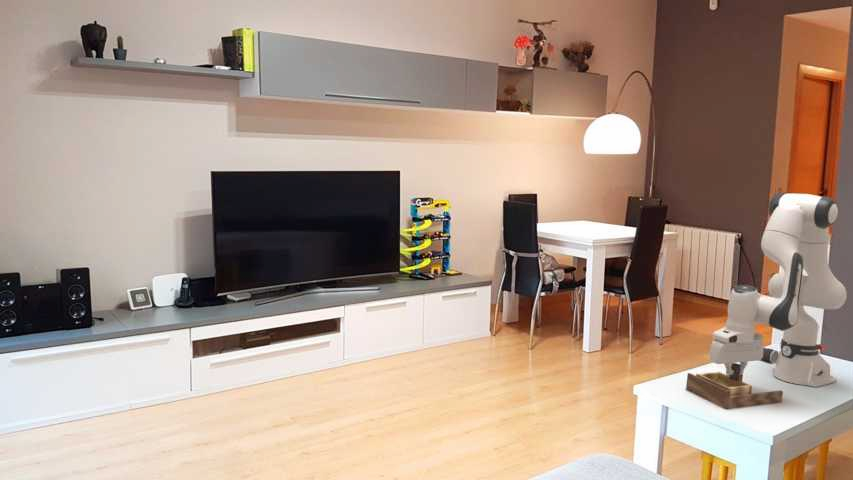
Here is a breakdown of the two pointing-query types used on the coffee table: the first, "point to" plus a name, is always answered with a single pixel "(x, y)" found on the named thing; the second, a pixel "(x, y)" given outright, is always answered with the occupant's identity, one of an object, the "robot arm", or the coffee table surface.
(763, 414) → the coffee table surface
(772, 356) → the flashlight
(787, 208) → the robot arm
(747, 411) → the coffee table surface
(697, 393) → the bay
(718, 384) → the crate
